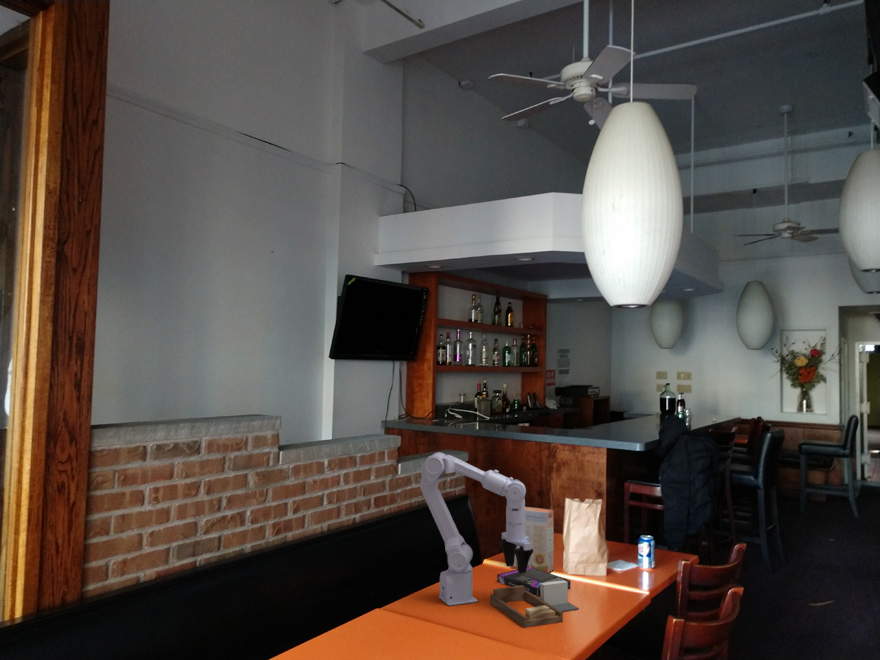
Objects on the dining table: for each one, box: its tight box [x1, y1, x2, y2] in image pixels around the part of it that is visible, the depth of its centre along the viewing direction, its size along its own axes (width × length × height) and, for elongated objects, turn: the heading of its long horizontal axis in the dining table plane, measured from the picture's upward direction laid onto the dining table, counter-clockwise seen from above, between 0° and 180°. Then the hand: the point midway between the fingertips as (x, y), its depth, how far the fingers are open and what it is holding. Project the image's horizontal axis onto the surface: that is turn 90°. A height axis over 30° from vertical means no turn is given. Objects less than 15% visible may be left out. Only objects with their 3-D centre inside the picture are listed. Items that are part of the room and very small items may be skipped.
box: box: [496, 566, 571, 598], centre depth 215 cm, size 14×4×20 cm
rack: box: [489, 585, 564, 628], centre depth 191 cm, size 12×20×4 cm, turn 22°
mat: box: [539, 597, 580, 613], centre depth 197 cm, size 9×12×1 cm
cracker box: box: [510, 506, 555, 573], centre depth 233 cm, size 14×6×21 cm, turn 58°
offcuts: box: [524, 605, 555, 620], centre depth 183 cm, size 9×3×4 cm, turn 112°
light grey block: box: [540, 580, 569, 605], centre depth 197 cm, size 8×2×6 cm, turn 112°
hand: (515, 569), depth 198 cm, fingers open, 7 cm apart
